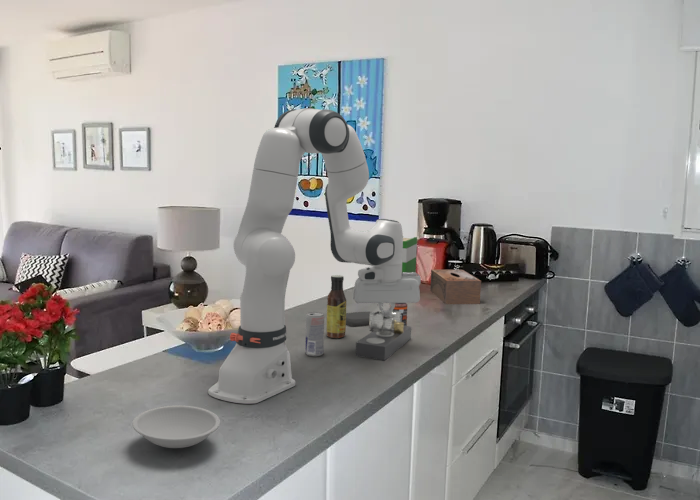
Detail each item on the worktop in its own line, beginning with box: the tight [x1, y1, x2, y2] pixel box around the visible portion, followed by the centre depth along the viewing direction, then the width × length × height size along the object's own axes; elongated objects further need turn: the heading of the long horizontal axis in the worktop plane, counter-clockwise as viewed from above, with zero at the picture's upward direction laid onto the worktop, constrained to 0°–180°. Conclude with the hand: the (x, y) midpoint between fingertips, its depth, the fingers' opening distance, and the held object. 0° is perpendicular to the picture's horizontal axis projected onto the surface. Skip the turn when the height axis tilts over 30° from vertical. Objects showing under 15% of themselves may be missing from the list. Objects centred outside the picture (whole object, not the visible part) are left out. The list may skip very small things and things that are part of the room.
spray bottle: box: [346, 311, 409, 328], centre depth 208 cm, size 3×11×24 cm
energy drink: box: [304, 311, 325, 357], centre depth 169 cm, size 5×5×12 cm
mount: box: [355, 326, 412, 361], centre depth 177 cm, size 24×9×4 cm, turn 156°
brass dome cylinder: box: [394, 322, 404, 334], centre depth 179 cm, size 3×3×3 cm
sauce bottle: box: [325, 274, 347, 339], centre depth 186 cm, size 7×6×20 cm
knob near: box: [368, 311, 383, 333], centre depth 169 cm, size 4×4×5 cm
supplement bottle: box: [393, 303, 408, 326], centre depth 197 cm, size 6×6×11 cm
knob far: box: [391, 310, 401, 329], centre depth 184 cm, size 4×4×5 cm
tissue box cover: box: [429, 269, 482, 305], centre depth 249 cm, size 26×14×10 cm, turn 6°
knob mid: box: [379, 317, 392, 335], centre depth 177 cm, size 4×4×5 cm
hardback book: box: [401, 236, 418, 273], centre depth 255 cm, size 18×7×24 cm, turn 159°
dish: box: [132, 404, 221, 449], centre depth 112 cm, size 18×14×5 cm
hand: (386, 316), depth 176 cm, fingers closed, pressing on knob mid
